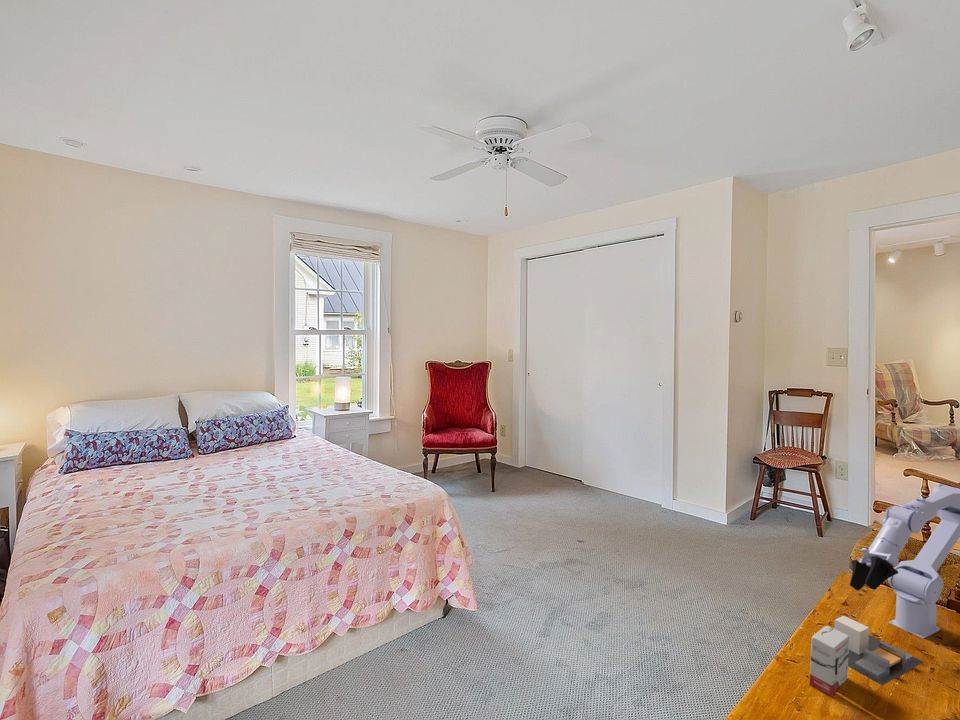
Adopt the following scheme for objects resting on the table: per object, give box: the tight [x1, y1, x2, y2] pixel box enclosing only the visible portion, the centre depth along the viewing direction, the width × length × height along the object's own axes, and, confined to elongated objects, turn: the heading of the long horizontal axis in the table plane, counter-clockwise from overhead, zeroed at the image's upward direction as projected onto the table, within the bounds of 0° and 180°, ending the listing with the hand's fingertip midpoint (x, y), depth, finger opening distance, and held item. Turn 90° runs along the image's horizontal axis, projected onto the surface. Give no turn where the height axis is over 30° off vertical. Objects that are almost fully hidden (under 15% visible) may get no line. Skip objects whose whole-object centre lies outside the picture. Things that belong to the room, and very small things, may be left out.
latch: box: [872, 648, 901, 667], centre depth 124 cm, size 5×5×1 cm
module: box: [833, 615, 870, 655], centre depth 131 cm, size 4×6×6 cm, turn 25°
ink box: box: [808, 625, 849, 697], centre depth 118 cm, size 8×5×12 cm, turn 123°
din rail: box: [848, 634, 924, 686], centre depth 127 cm, size 18×15×4 cm
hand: (861, 587), depth 129 cm, fingers open, 7 cm apart
